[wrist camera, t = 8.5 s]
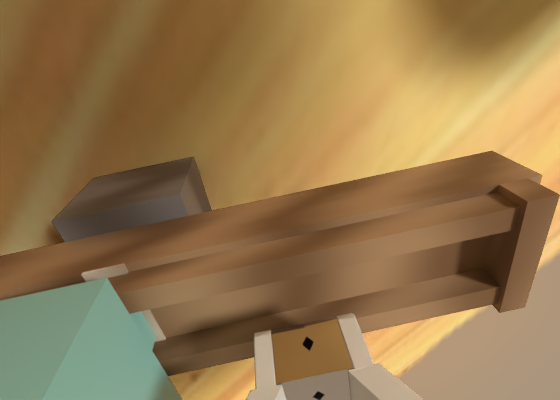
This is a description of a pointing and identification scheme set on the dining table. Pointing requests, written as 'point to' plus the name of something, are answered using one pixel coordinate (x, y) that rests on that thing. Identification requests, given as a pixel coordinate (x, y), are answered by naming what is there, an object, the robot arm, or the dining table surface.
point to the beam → (296, 252)
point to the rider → (78, 348)
